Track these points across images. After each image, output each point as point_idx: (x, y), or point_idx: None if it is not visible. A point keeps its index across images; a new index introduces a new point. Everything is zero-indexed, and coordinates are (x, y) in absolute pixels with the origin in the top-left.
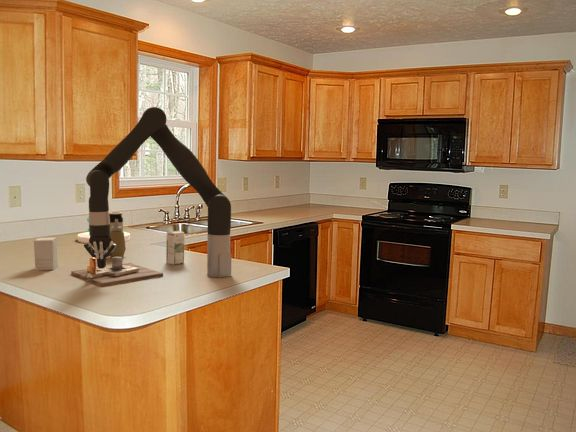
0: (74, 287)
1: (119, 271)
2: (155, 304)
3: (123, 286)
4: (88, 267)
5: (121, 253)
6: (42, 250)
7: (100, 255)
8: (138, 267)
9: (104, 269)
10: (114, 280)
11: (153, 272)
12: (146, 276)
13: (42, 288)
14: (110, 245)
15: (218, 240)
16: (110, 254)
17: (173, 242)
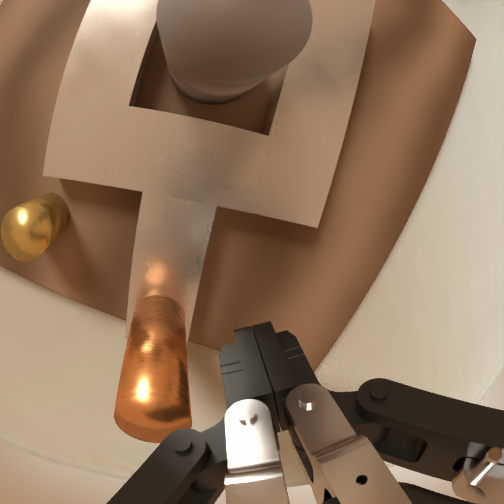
0: (192, 419)
1: (311, 150)
2: (490, 374)
3: (399, 305)
4: (30, 258)
5: None
6: None
7: (305, 464)
8: None
9: (124, 138)
10: (346, 296)
11: (438, 22)
12: (449, 116)
13: (99, 455)
14: (474, 494)
15: None
16: (404, 397)
17: None
